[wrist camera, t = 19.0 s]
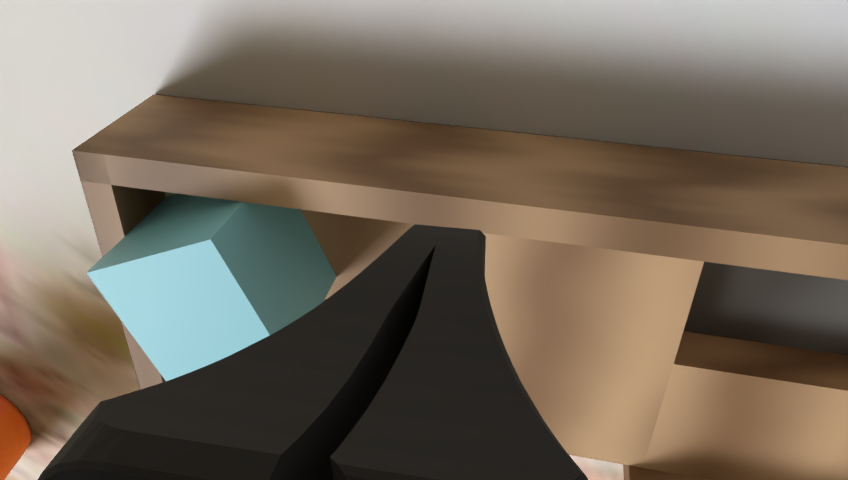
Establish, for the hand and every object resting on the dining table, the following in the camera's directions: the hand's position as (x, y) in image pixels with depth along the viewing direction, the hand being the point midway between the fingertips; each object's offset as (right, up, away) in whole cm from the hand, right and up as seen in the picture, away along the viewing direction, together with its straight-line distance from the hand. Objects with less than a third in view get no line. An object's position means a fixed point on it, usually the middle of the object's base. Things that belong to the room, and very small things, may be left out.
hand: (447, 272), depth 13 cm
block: (-6, +1, +11) cm, 13 cm away
